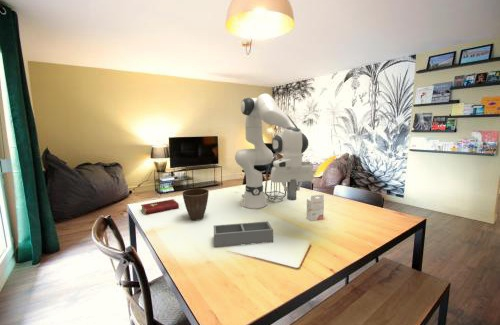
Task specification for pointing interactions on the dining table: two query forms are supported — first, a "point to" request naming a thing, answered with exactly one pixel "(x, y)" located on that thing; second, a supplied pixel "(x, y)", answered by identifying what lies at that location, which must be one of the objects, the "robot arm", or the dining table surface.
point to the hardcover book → (160, 206)
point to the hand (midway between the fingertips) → (291, 190)
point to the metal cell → (291, 190)
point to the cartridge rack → (242, 234)
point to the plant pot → (196, 202)
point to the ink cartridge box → (315, 207)
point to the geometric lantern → (271, 181)
